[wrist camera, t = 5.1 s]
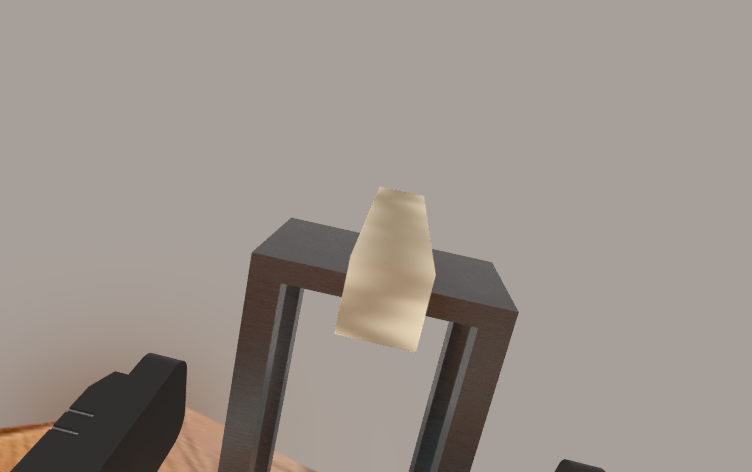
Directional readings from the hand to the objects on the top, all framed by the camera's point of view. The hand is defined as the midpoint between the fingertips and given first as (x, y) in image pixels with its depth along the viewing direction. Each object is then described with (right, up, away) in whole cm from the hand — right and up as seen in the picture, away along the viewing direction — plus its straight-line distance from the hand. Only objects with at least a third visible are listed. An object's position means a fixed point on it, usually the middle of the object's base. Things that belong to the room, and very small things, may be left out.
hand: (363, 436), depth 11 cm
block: (+1, +2, +21) cm, 21 cm away
